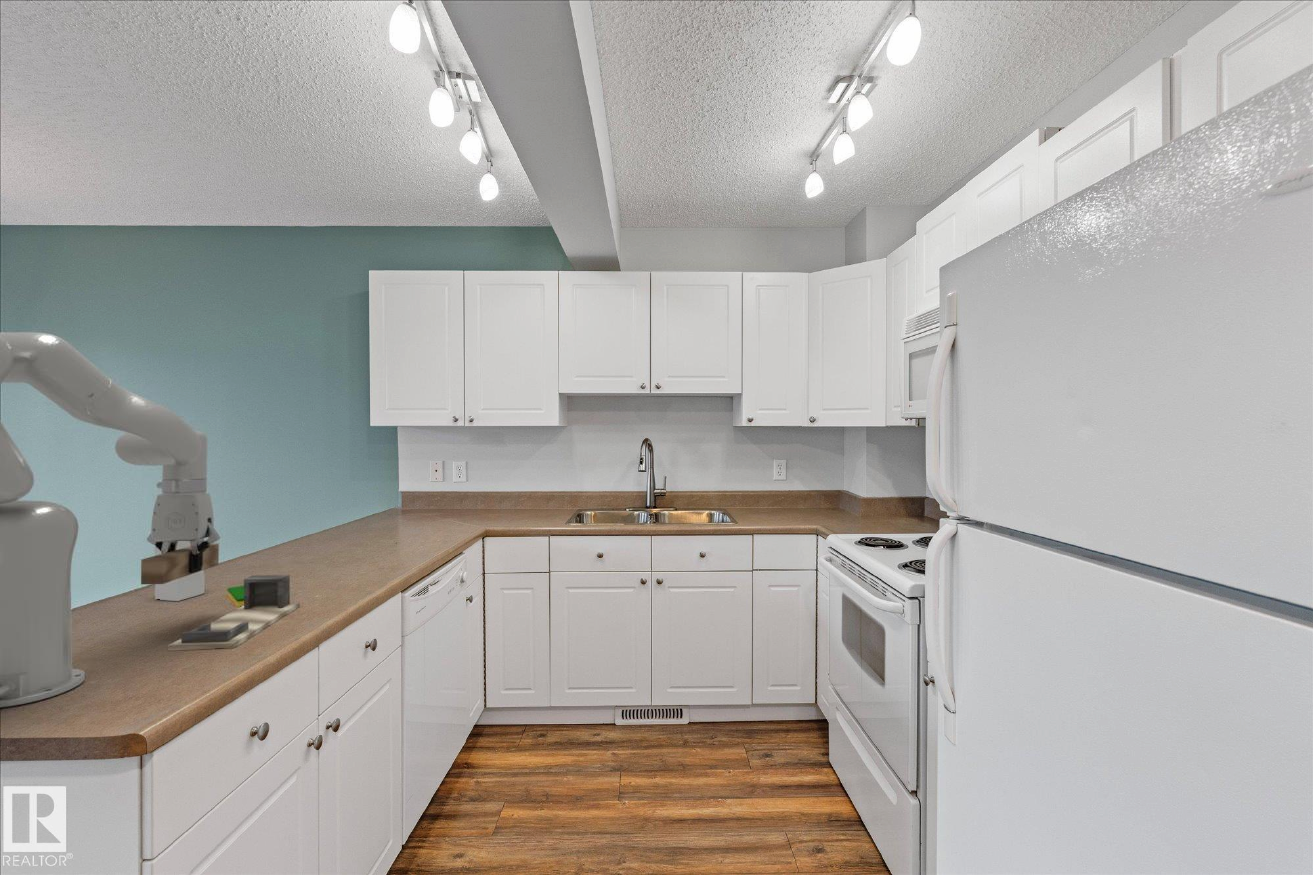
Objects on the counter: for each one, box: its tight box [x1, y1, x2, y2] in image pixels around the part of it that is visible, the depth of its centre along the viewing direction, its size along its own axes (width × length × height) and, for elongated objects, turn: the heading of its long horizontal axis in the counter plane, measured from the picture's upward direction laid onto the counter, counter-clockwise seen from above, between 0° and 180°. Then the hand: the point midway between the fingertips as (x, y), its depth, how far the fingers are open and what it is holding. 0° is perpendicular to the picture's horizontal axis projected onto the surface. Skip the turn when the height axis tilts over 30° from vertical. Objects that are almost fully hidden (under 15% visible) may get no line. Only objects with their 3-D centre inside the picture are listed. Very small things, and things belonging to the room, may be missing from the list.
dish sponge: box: [226, 585, 244, 608], centre depth 149 cm, size 7×14×2 cm, turn 45°
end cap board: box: [167, 574, 301, 652], centre depth 129 cm, size 27×12×8 cm, turn 7°
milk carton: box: [154, 541, 206, 602], centre depth 150 cm, size 7×7×19 cm
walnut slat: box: [140, 542, 220, 585], centre depth 126 cm, size 18×4×5 cm, turn 7°
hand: (183, 571), depth 126 cm, fingers closed on walnut slat, 4 cm apart
